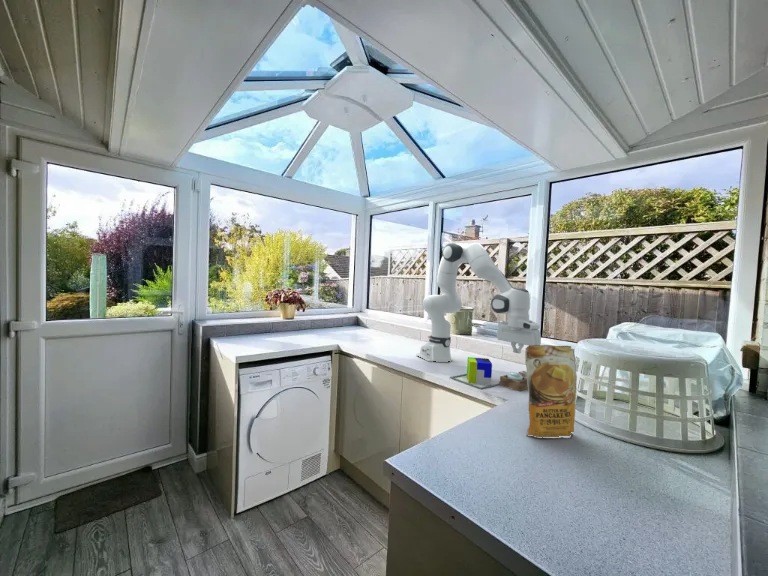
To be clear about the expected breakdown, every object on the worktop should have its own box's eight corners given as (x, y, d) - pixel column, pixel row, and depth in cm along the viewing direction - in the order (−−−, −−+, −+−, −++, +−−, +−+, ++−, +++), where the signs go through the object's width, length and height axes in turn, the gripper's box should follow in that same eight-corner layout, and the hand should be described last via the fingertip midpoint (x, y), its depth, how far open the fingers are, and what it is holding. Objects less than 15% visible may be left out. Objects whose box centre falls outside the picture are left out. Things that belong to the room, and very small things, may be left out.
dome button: (504, 378, 149) (505, 372, 149) (512, 376, 153) (512, 370, 153) (517, 382, 144) (517, 376, 144) (525, 380, 148) (525, 374, 147)
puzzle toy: (490, 385, 149) (492, 363, 148) (468, 383, 150) (469, 361, 150) (487, 378, 159) (488, 358, 158) (466, 376, 160) (467, 357, 160)
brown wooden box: (499, 384, 150) (499, 372, 149) (518, 379, 159) (519, 368, 159) (518, 391, 142) (519, 378, 141) (538, 385, 151) (538, 373, 151)
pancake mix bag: (514, 429, 103) (519, 343, 103) (568, 428, 106) (573, 344, 105) (526, 440, 97) (532, 347, 96) (583, 438, 99) (589, 348, 99)
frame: (449, 378, 156) (449, 376, 156) (471, 373, 166) (471, 372, 166) (481, 389, 141) (481, 388, 141) (503, 384, 151) (503, 382, 151)
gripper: (494, 320, 154) (493, 349, 154) (536, 326, 138) (534, 358, 138) (502, 320, 158) (500, 348, 158) (543, 325, 141) (541, 356, 142)
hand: (516, 352), depth 148 cm, fingers closed
